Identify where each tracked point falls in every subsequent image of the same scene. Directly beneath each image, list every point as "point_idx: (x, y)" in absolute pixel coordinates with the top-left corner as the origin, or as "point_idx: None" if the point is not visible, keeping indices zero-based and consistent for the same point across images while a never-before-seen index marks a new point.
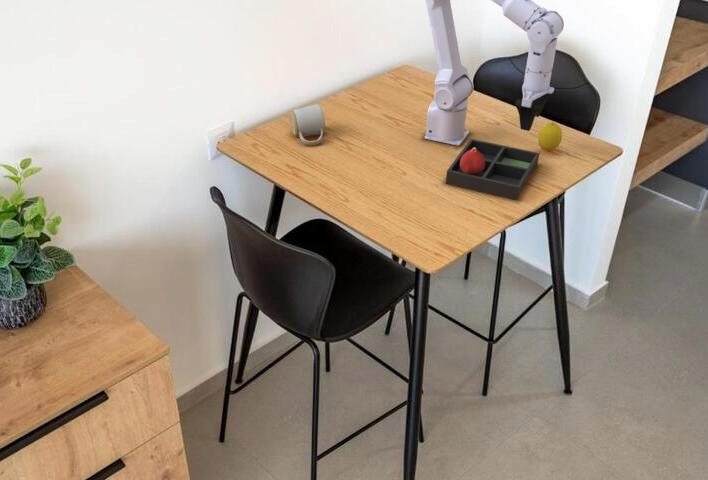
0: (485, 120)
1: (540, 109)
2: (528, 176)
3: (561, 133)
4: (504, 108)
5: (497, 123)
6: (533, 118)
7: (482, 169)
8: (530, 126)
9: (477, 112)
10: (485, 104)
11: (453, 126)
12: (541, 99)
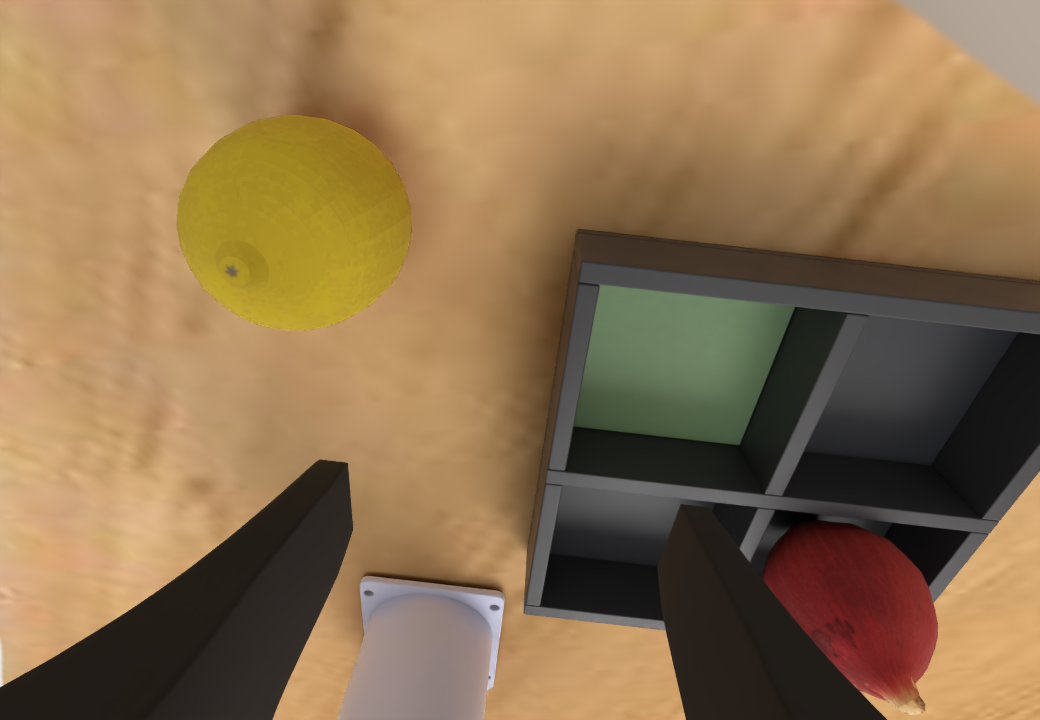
0: (202, 533)
1: (302, 533)
2: (847, 273)
3: (271, 134)
4: (21, 481)
5: (194, 488)
6: (841, 674)
7: (884, 542)
8: (742, 553)
9: (153, 567)
10: (55, 551)
11: (475, 700)
12: (215, 691)
